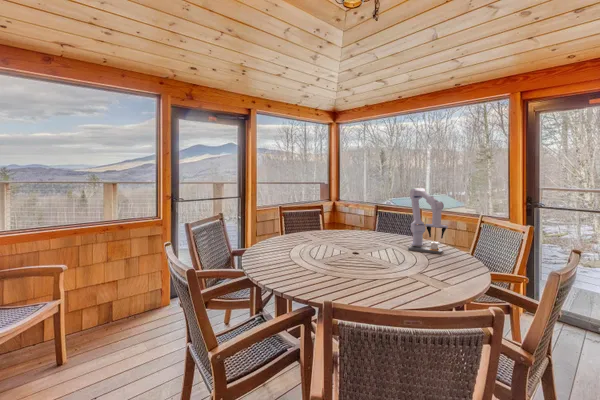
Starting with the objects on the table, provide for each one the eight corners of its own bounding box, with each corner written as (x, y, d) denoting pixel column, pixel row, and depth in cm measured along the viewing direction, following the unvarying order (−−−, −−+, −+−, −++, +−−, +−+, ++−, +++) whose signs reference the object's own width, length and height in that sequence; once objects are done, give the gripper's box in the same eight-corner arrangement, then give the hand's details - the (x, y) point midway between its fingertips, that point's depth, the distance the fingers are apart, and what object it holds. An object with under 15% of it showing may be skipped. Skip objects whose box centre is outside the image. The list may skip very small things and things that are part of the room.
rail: (410, 247, 226) (410, 244, 226) (442, 251, 215) (442, 248, 215) (408, 250, 219) (408, 247, 219) (441, 254, 208) (441, 251, 208)
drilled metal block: (431, 251, 217) (431, 241, 216) (437, 251, 215) (438, 242, 214) (430, 252, 213) (431, 242, 212) (437, 253, 211) (437, 243, 210)
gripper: (424, 218, 213) (424, 237, 215) (447, 220, 206) (446, 240, 207) (426, 217, 219) (425, 235, 221) (448, 218, 212) (447, 237, 213)
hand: (435, 237), depth 214 cm, fingers open, 7 cm apart
